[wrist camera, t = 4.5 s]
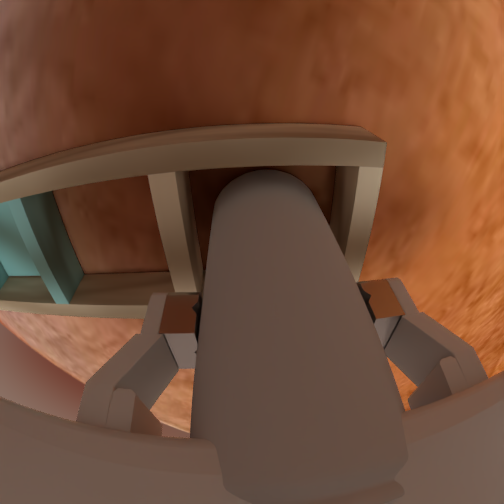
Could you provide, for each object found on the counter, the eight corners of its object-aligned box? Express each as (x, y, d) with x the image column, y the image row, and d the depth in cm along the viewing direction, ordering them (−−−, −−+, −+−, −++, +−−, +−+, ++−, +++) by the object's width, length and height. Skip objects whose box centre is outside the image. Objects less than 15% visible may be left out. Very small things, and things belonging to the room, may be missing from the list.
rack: (-38, 186, 10) (-60, 206, 8) (361, 126, 11) (387, 142, 9) (8, 285, 15) (-7, 309, 13) (337, 276, 16) (350, 308, 14)
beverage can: (333, 189, 13) (466, 464, 3) (286, 264, 15) (330, 508, 6) (235, 148, 11) (243, 533, 2) (199, 237, 14) (169, 516, 4)
